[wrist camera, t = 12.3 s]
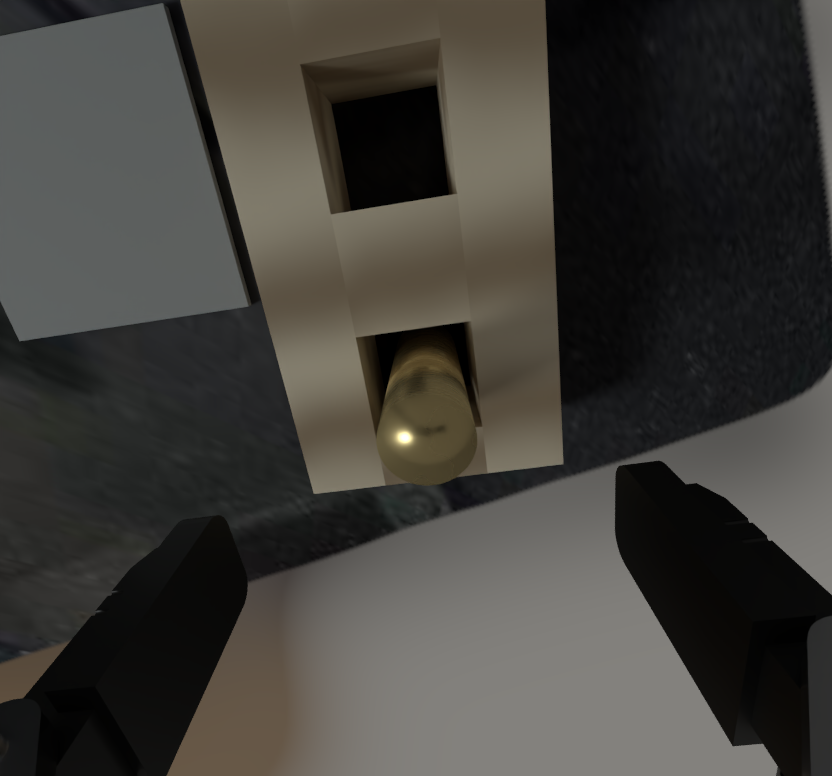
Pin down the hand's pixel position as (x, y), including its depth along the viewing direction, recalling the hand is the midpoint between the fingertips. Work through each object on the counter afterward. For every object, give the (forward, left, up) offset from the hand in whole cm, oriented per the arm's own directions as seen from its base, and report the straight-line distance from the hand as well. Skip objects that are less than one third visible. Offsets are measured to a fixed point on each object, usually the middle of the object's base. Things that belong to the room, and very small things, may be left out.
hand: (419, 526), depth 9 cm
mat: (-9, -14, -14) cm, 22 cm away
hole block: (-4, 0, -14) cm, 15 cm away
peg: (0, 0, -14) cm, 14 cm away
